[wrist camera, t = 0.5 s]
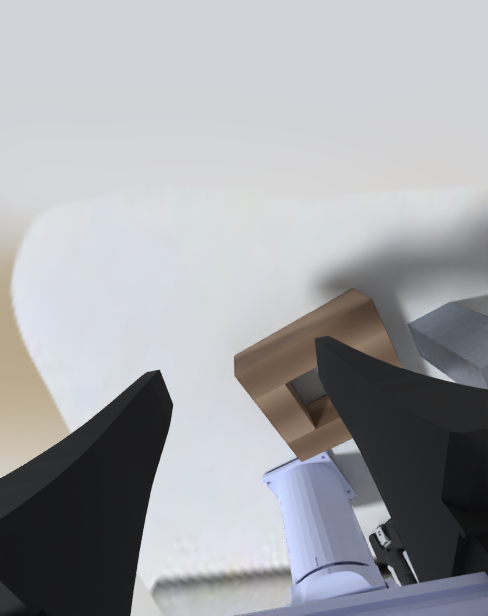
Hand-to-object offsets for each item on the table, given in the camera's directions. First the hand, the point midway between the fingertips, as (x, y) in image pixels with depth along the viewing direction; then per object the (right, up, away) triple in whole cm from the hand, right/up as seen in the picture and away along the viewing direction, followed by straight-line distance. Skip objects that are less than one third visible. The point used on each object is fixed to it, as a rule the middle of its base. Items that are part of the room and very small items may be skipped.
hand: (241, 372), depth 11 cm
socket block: (+7, -3, +12) cm, 15 cm away
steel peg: (+18, +1, +11) cm, 21 cm away
